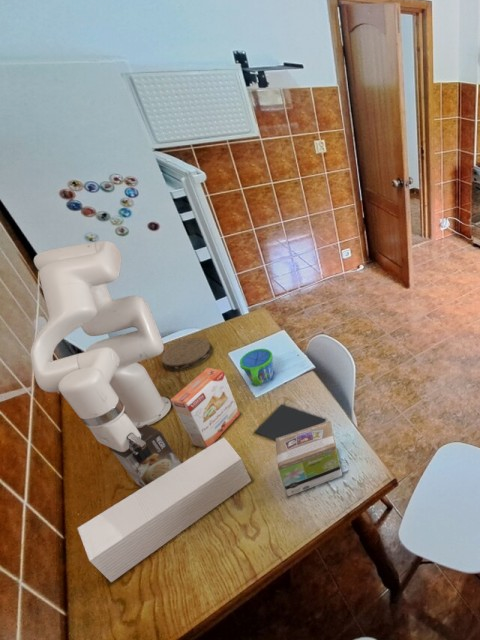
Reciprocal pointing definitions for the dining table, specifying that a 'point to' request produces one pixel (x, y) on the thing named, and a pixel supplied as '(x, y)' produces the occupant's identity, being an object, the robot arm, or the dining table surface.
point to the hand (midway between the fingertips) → (132, 452)
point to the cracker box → (206, 407)
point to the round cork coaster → (186, 354)
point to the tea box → (307, 458)
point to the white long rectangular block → (162, 509)
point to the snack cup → (258, 366)
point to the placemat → (287, 422)
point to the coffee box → (155, 463)
